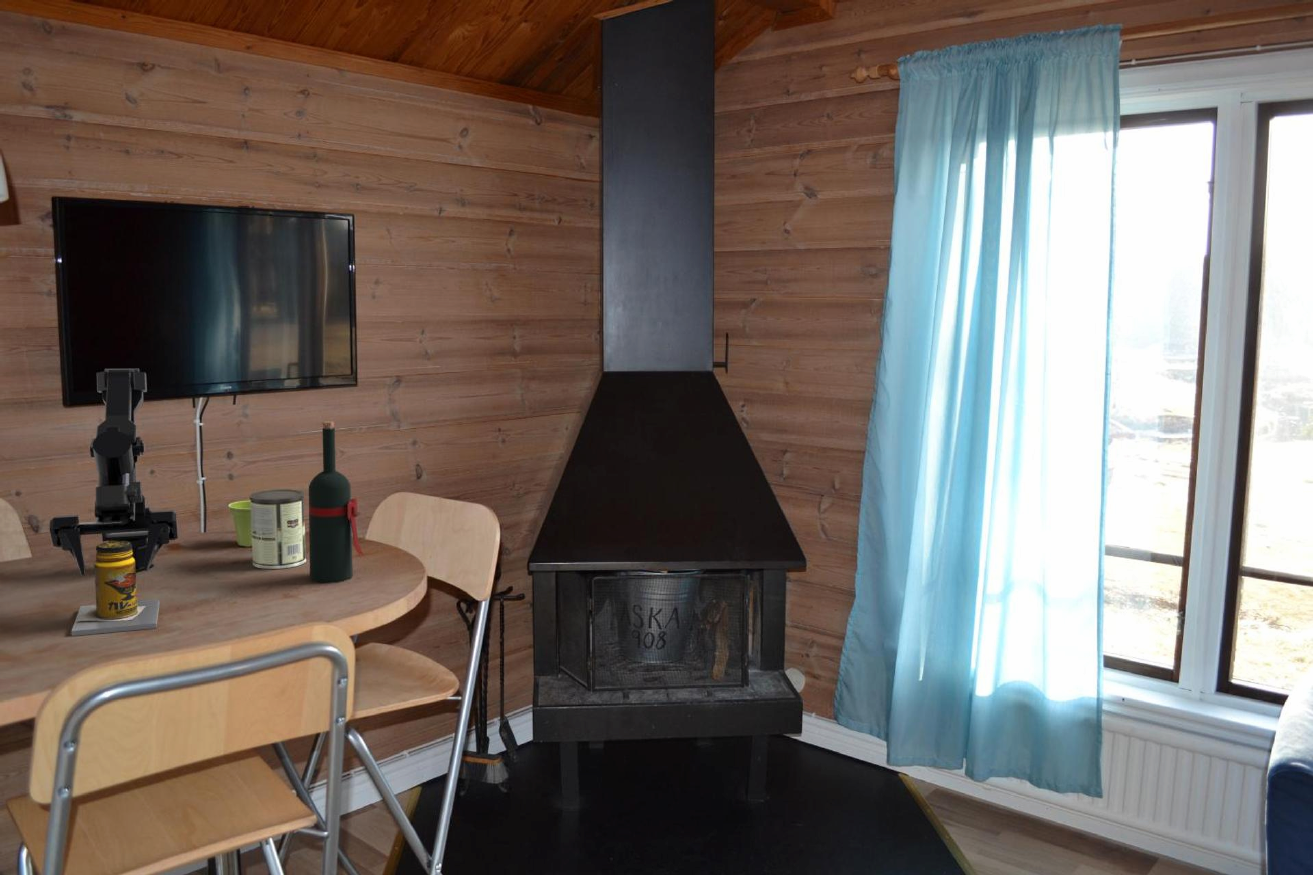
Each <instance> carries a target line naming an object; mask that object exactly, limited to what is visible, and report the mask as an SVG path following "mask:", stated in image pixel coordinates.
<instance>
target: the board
mask: <svg viewBox="0 0 1313 875" xmlns="http://www.w3.org/2000/svg"><path fill="white" fill-rule="evenodd" d="M137 602H138V606H146V607H145V608H144V609H143V610H142V611H141V612H140V613H139V614H138V615H137V616H136V617H134V618H133V619H132V620H121V621H97V620H96V621H77V620H78V619H80V618H81V617H82V616H84V615H85V614H86V613H87V612H88V611H89V610H90V609H91V608H92V607H96V604H90V605H89V604H88V605H80V606H79V610H78V612H77V615H76V618H75V620H74V623H73V626H72V628H71V637H75V636H84V635H85V636H86V635H97V634H107V633H117V632H118V633H119V632H130V631H138V630H139V631H140V630H149V629H150V630H151V629H152V630H153V629H157V627H158V626H157V624H158V619H159V610H160V599H148V600H137ZM138 606H137V607H138ZM94 618H95V617H94Z"/></svg>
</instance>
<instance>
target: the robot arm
mask: <svg viewBox="0 0 1313 875" xmlns="http://www.w3.org/2000/svg"><path fill="white" fill-rule="evenodd" d="M147 384H148V383H147V373H146V372H144V371H140V368H104V371H99V372H96V390H97V393H101V398H102V400H103V403H104V404H105V417H104V420H103V421H102V422H100V424H99V425H97V426H96V427H97V428H96V437H95V438H92V440H91V443H90V446H89V453H90V457H91V459H94V463H95V468H96V471H97V473H98V476H97V487H95V502H94V518H96V521H89V522H80V520H79V514H73V515H72V514H70V515H55V516H54V515H53V517H52V518H51V519H50V521H49V533H50V537H51V542H52V545H53V547H56V548H61V549H62V551H65V552H67V551H69V553H70V554H71V556H72V557H73V558H74V560H75V562H76V565H77V567H78V569H79V573H80V575H81V576H83V577H84V576H85V575H86V574H85V573H86V567H85V566H86V565H85V558H84V551H83V550H84V549H83V543H82V536H88V535H101V537H102V540H101V541H102V543H104V542H109V541H127V542H130V543H131V544H132V552H133V555H132V557H133V558H134V559H135V563H136V573H137V572H140V571H143V570H144V571H145V572H148V571H149V568H152V567H153V568H154V567H155V564H154V563H153V561H154V559H155V557H156V555H157V554H158V552H159V551H160V549H161V548H162V547H163V546H164V545H168V544H170V541H175V540H177V539H178V538H179V536H178V534H179V533H178V532H179V531H178V516H177V514H178V513H177V512H176V511H175V510H174V509H163V510H161V509H160V510H151V508H150V506H149V507H148V506H147V500H146V498H145V496H144V494H143V482H142V481H137V480H138V477H137V463H138V461H139V460H138V457H141V458H142V457H143V456H142V455H144V453H145V452H146V443H145V442H144V441H143V439H142V437H141V436H138V432H137V425H136V414H137V412H138V411H139V409H140V408H141V406H142V405H143V403H144V393H147V391H148V389H147V386H148V385H147Z"/></svg>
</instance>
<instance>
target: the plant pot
mask: <svg viewBox="0 0 1313 875" xmlns="http://www.w3.org/2000/svg"><path fill="white" fill-rule="evenodd" d="M227 505H228V508H229V509H230V512H231V515H232V518H233V523H234V524H233V525H234V529H235V537H236V541H237V544H238V546H240V547H246V548H247V547H248V548H249V547H252V527H251V500H240V501H235V502H231V503H229V504H227Z"/></svg>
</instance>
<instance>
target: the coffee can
mask: <svg viewBox="0 0 1313 875" xmlns="http://www.w3.org/2000/svg"><path fill="white" fill-rule="evenodd" d="M305 494H306V493H305V492H304V491H302V490H298V489H291V488H290V489H288V488H283V489H278V488H277V489H267V490H261V491H256V492H253V493H250V495H249V501H251V527H252V546H251V548H252V549H251V550H252V565H253V567H255V568H258V569H263V570H267V569H268V570H279V569H280V570H281V569H289V568H295V567H299V566H301V565H304V564H305V563H306V562H307V558H306V553H307V552H306V529H305V528H306V524H305V520H306V519H305Z"/></svg>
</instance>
